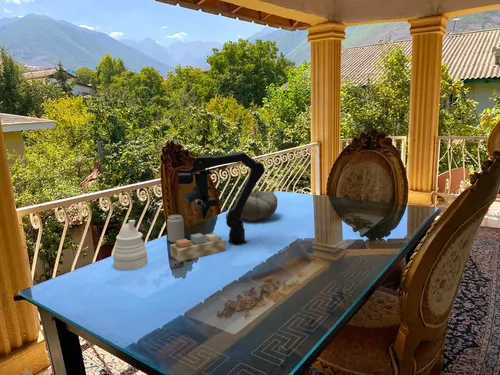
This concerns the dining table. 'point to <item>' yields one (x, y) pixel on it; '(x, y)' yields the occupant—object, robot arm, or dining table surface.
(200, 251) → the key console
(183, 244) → the salmon rounded block
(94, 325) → the dining table surface
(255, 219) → the gourd
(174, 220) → the can
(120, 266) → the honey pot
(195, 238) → the slate key
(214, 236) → the ivory key
